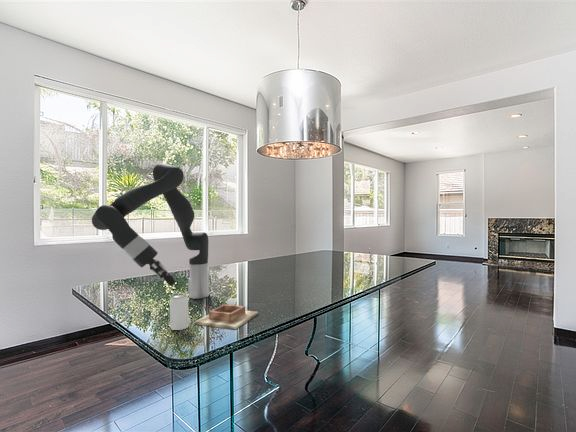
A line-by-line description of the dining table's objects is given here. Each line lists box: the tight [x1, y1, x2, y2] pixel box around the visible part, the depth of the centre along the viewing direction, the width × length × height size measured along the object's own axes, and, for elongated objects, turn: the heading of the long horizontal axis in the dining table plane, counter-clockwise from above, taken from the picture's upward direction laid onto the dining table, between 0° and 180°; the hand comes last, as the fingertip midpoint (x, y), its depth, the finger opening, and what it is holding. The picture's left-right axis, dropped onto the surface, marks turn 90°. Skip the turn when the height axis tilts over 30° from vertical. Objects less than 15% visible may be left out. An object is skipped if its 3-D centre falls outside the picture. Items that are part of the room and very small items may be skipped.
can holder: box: [194, 303, 259, 330], centre depth 123 cm, size 18×18×4 cm
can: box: [169, 293, 190, 331], centre depth 114 cm, size 6×6×12 cm
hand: (172, 282), depth 114 cm, fingers open, 8 cm apart
